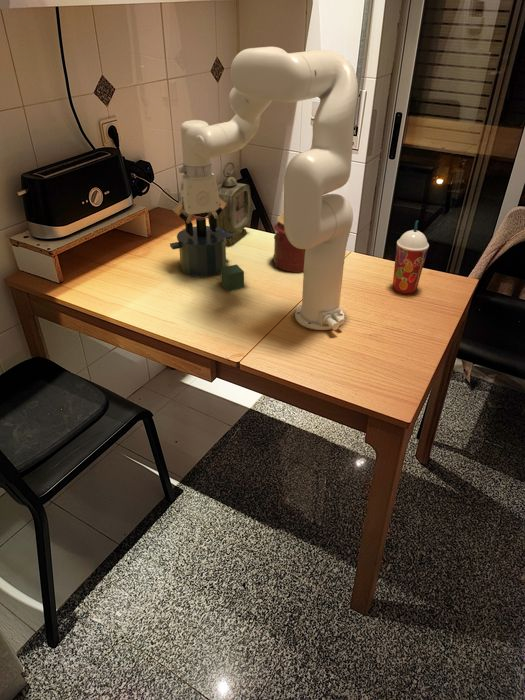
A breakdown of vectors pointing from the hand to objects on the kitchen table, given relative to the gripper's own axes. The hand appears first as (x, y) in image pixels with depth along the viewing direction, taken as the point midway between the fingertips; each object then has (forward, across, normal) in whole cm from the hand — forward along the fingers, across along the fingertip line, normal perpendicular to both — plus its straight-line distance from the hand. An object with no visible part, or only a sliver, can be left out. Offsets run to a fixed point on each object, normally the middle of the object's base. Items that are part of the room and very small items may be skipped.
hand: (201, 232), depth 151 cm
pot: (+11, 0, 0) cm, 11 cm away
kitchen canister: (+11, +26, -10) cm, 30 cm away
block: (+11, +3, -15) cm, 19 cm away
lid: (+2, 0, 0) cm, 2 cm away
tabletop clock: (+11, +16, +17) cm, 26 cm away
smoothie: (+11, +46, -38) cm, 61 cm away
